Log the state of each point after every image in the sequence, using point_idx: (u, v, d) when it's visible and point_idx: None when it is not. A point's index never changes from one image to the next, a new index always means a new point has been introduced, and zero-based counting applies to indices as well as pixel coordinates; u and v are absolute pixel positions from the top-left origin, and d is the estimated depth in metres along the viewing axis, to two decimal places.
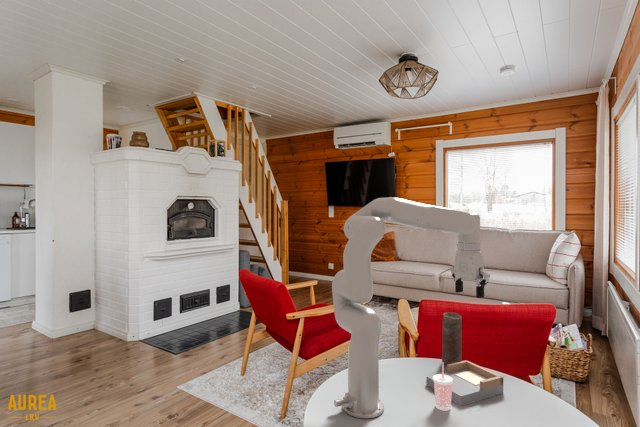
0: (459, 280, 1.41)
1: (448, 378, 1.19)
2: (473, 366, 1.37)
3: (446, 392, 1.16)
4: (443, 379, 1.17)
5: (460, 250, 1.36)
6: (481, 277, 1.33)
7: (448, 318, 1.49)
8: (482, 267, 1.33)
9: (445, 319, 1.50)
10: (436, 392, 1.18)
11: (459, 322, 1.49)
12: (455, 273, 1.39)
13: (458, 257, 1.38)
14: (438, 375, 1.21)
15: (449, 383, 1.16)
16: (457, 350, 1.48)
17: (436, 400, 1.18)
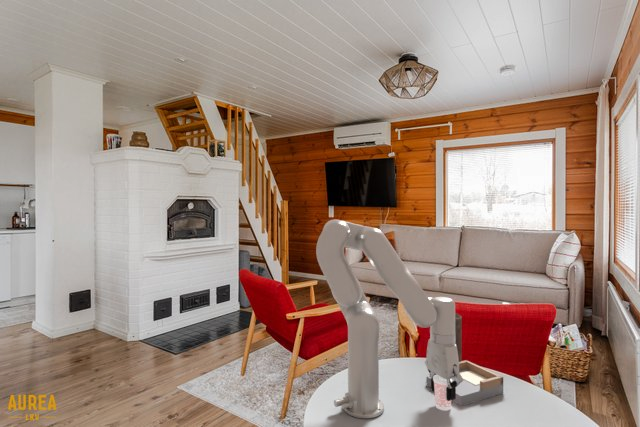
0: None
1: None
2: (473, 366, 1.37)
3: None
4: (443, 379, 1.18)
5: (432, 341, 1.17)
6: (454, 376, 1.16)
7: None
8: (457, 363, 1.14)
9: None
10: (436, 392, 1.18)
11: (459, 322, 1.49)
12: (427, 365, 1.21)
13: (430, 348, 1.20)
14: (438, 375, 1.21)
15: None
16: (457, 350, 1.48)
17: (436, 400, 1.18)
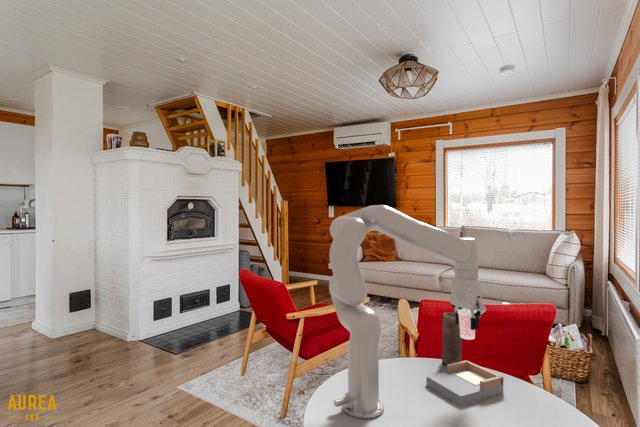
0: None
1: None
2: (473, 366, 1.37)
3: None
4: (467, 311, 1.28)
5: (457, 277, 1.28)
6: (477, 308, 1.26)
7: (448, 318, 1.49)
8: (480, 296, 1.25)
9: (445, 319, 1.50)
10: (461, 323, 1.28)
11: None
12: (452, 301, 1.32)
13: (455, 284, 1.30)
14: (462, 309, 1.31)
15: None
16: (457, 350, 1.48)
17: (461, 331, 1.28)
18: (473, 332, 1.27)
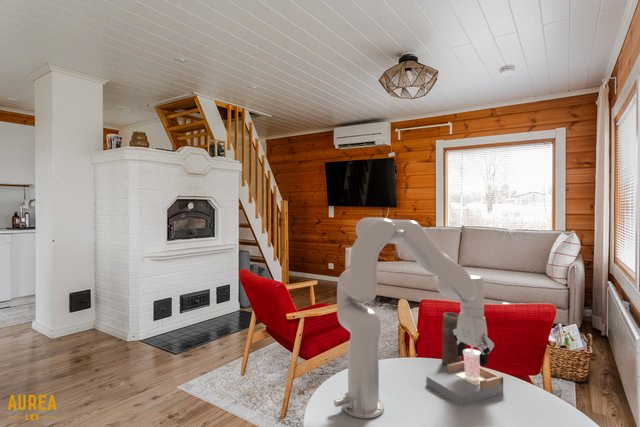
0: (462, 343, 1.36)
1: (477, 352, 1.32)
2: None
3: (476, 364, 1.29)
4: (472, 352, 1.31)
5: (463, 314, 1.31)
6: (485, 344, 1.28)
7: (448, 318, 1.49)
8: (486, 334, 1.28)
9: (445, 319, 1.50)
10: (466, 364, 1.31)
11: None
12: (458, 337, 1.34)
13: (461, 321, 1.33)
14: (467, 349, 1.34)
15: (478, 356, 1.29)
16: (457, 350, 1.48)
17: (466, 371, 1.31)
18: (478, 373, 1.30)
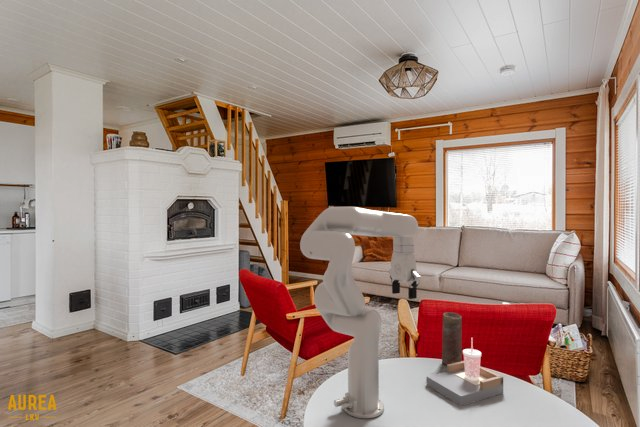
0: (396, 281, 1.44)
1: (477, 352, 1.32)
2: None
3: (476, 364, 1.29)
4: (472, 352, 1.31)
5: (394, 252, 1.38)
6: (414, 279, 1.36)
7: (448, 318, 1.49)
8: (414, 269, 1.35)
9: (445, 319, 1.50)
10: (466, 364, 1.31)
11: (459, 322, 1.49)
12: (391, 275, 1.42)
13: (393, 259, 1.40)
14: (467, 349, 1.34)
15: (478, 356, 1.29)
16: (457, 350, 1.48)
17: (466, 371, 1.31)
18: (478, 373, 1.30)
